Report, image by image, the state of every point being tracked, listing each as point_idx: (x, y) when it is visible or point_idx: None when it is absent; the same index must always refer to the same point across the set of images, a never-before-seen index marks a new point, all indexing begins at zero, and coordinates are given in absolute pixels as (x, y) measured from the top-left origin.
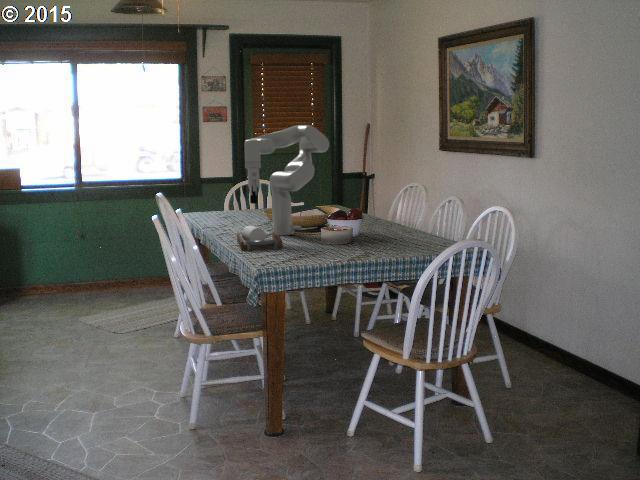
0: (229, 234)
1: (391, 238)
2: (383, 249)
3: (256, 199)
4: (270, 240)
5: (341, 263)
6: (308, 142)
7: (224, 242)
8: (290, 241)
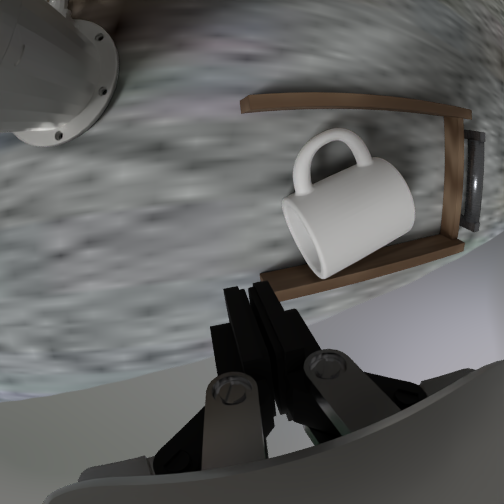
0: (70, 333)
1: None
2: None
3: (282, 312)
4: (483, 154)
5: None
6: None
7: None
8: (314, 38)
